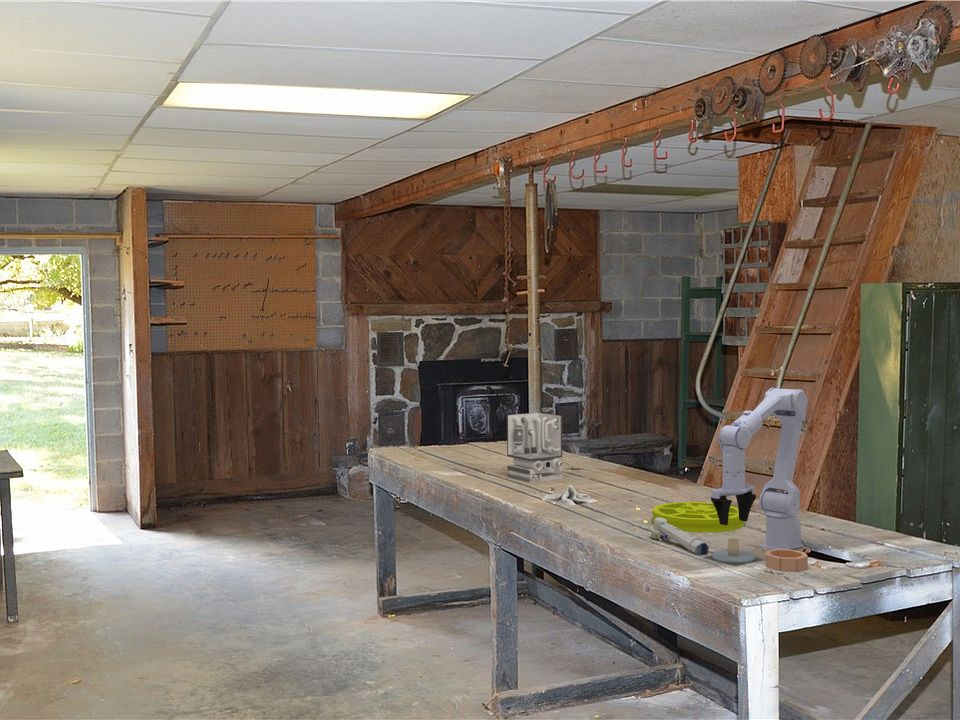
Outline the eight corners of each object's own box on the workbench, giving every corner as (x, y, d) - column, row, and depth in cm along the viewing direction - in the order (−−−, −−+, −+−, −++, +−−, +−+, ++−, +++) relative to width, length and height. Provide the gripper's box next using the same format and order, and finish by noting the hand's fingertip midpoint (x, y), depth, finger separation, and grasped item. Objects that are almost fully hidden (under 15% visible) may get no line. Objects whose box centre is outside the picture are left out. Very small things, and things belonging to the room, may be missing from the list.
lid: (731, 551, 267) (731, 533, 267) (763, 559, 258) (764, 540, 257) (703, 557, 261) (703, 538, 260) (735, 566, 252) (735, 546, 251)
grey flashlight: (695, 543, 262) (647, 513, 286) (693, 567, 264) (646, 535, 287) (711, 541, 264) (663, 511, 287) (709, 565, 265) (661, 533, 288)
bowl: (782, 560, 258) (783, 547, 258) (815, 568, 250) (815, 554, 250) (757, 566, 253) (757, 552, 252) (789, 574, 244) (789, 560, 244)
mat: (731, 552, 267) (731, 551, 267) (763, 561, 258) (763, 559, 258) (703, 558, 261) (703, 557, 261) (735, 567, 252) (735, 566, 252)
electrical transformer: (539, 473, 402) (538, 412, 401) (567, 480, 386) (567, 416, 384) (507, 477, 393) (506, 415, 392) (535, 484, 377) (534, 419, 376)
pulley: (744, 516, 315) (744, 501, 315) (743, 535, 289) (743, 519, 288) (656, 512, 323) (656, 497, 323) (648, 531, 296) (648, 514, 296)
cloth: (534, 498, 350) (534, 481, 350) (584, 496, 354) (584, 479, 354) (555, 510, 328) (555, 492, 328) (607, 507, 333) (607, 489, 333)
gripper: (726, 476, 251) (726, 528, 251) (764, 470, 259) (764, 521, 259) (705, 472, 256) (705, 524, 257) (743, 467, 265) (743, 517, 265)
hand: (733, 522), depth 259 cm, fingers open, 7 cm apart
